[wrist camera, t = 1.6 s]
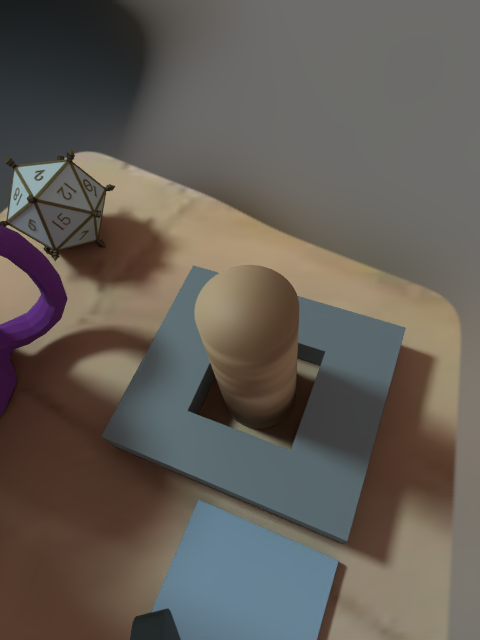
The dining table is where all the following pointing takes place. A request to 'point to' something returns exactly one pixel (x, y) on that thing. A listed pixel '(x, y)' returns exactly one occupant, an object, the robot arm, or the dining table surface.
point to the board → (251, 452)
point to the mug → (38, 317)
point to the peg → (251, 341)
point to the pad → (244, 582)
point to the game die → (56, 204)
